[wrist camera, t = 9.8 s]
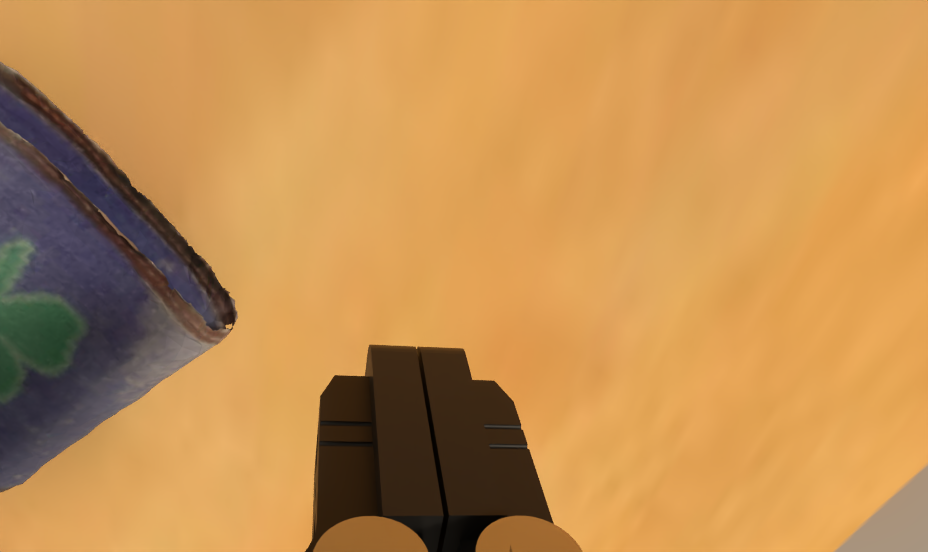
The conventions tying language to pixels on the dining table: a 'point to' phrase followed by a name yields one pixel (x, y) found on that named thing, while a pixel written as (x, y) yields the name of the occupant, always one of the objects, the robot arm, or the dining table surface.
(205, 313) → the flask
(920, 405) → the dining table surface
